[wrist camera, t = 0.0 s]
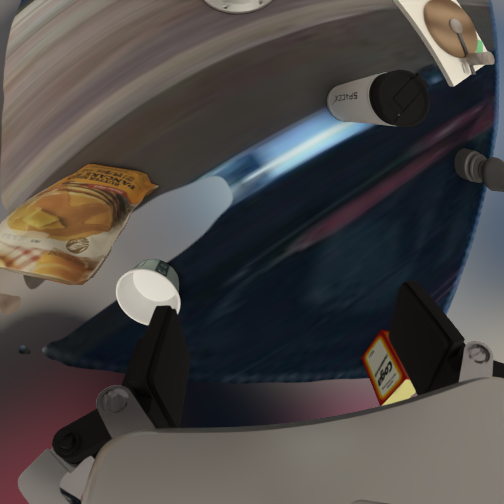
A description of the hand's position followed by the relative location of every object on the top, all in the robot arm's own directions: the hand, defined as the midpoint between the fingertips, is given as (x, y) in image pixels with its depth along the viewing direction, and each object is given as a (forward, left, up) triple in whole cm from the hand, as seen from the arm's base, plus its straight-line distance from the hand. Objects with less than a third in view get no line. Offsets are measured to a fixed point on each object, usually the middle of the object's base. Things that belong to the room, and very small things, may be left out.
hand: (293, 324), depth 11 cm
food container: (+4, -28, -38) cm, 47 cm away
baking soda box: (+51, -2, -38) cm, 63 cm away
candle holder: (+23, +35, -38) cm, 56 cm away
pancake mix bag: (-14, -20, -38) cm, 45 cm away
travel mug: (0, +18, -38) cm, 42 cm away
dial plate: (-2, +48, -37) cm, 61 cm away
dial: (0, +48, -36) cm, 60 cm away
